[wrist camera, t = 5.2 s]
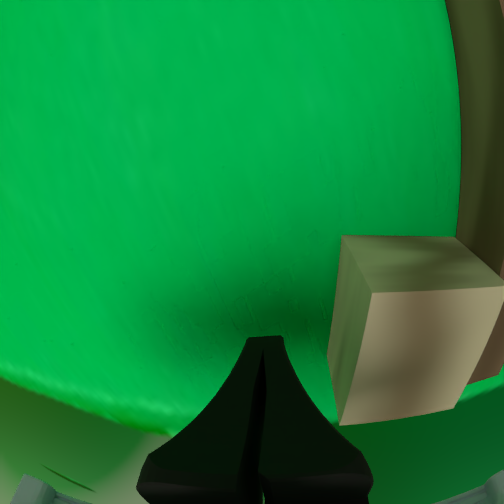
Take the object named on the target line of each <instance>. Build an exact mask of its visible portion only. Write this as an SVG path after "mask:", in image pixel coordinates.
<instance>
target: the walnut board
mask: <svg viewBox="0 0 504 504" xmlns="http://www.w3.org/2000/svg"><path fill="white" fill-rule="evenodd" d="M445 2H446V6H447V11H448V15H449V20H450V25H451V31H452V37H453V43H454V49H455V56H456V64H457V72H458V82H459V93H460V108H461V137H462V156H461V186H460V201H459V213H458V223H457V232H456V239H457V240H459V241H460V242H461V243H462V244H463V245H465V246H466V247H467V248H468V249H469V250H470V251H472V252H473V253H474V254H475V255H476V256H477V257H478V258H480V259H481V260H482V261H483V262H484V263H485V264H486V265H487V266H489V267H490V268H491V269H492V270H493V271H494V272H495V273H496V274H497V275H498V276H499V277H501V278H502V279H503V280H504V0H445ZM503 364H504V302H503V304H502V307H501V310H500V312H499V315H498V318H497V320H496V323H495V325H494V327H493V330H492V332H491V335H490V337H489V339H488V341H487V344H486V346H485V348H484V350H483V352H482V355H481V357H480V359H479V361H478V363H477V365H476V367H475V369H474V371H473V373H472V375H471V377H470V379H469V381H468V383H467V384H466V385H468V384H471V383H474V382H478V381H481V380H484V379H487V378H490V377H493V376H496V375H498V374H499V372H500V370H501V368H502V366H503Z"/></svg>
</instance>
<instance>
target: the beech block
mask: <svg viewBox="0 0 504 504" xmlns="http://www.w3.org/2000/svg"><path fill="white" fill-rule="evenodd" d="M503 302H504V280H503V279H502V278H501V277H499V276H498V275H497V274H496V273H495V272H494V271H493V270H492V269H491V268H490V267H489V266H487V265H486V264H485V263H484V262H483V261H482V260H481V259H480V258H478V257H477V256H476V255H475V254H474V253H473V252H472V251H470V250H469V249H468V248H467V247H466V246H465V245H463V244H462V243H461V242H460V241H459V240H457V239H456V238H455V237H432V236H374V235H342V238H341V249H340V259H339V268H338V277H337V286H336V294H335V302H334V310H333V317H332V324H331V331H330V338H329V344H328V350H327V359H328V364H329V369H330V375H331V380H332V385H333V391H334V396H335V402H336V408H337V413H338V419H339V425H351V424H361V423H370V422H378V421H386V420H392V419H399V418H406V417H411V416H417V415H422V414H428V413H433V412H438V411H443V410H447V409H451V408H453V407H454V406H455V404H456V402H457V401H458V399H459V397H460V395H461V394H462V392H463V390H464V388H465V386H466V384H467V383H468V381H469V379H470V377H471V375H472V373H473V371H474V369H475V367H476V365H477V363H478V361H479V359H480V357H481V355H482V352H483V350H484V348H485V346H486V344H487V341H488V339H489V337H490V335H491V332H492V330H493V327H494V325H495V323H496V320H497V318H498V315H499V312H500V310H501V307H502V304H503Z"/></svg>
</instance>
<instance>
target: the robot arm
mask: <svg viewBox="0 0 504 504" xmlns="http://www.w3.org/2000/svg"><path fill="white" fill-rule="evenodd" d="M372 486H373V476H372V473H371V470H370V468H369V466H368V463H367V461H366V460H365V458H364V456H363V454H362V453H361V451H359V450H358V449H357V448H356V447H355V446H353V445H352V444H351V443H350V442H349V441H348V440H347V439H345V438H344V437H343V436H342V435H341V434H340V433H339V432H338V431H337V430H336V429H335V428H334V427H333V426H332V424H331V423H330V422H329V421H328V420H327V419H326V418H325V417H324V416H323V414H322V413H321V412H320V411H319V409H318V408H317V407H316V405H315V404H314V403H313V401H312V400H311V398H310V397H309V395H308V394H307V392H306V391H305V389H304V388H303V386H302V384H301V382H300V381H299V379H298V377H297V375H296V373H295V371H294V369H293V367H292V365H291V363H290V360H289V358H288V355H287V352H286V349H285V346H284V340H283V337H282V336H280V335H279V336H263V337H249V338H248V339H247V340H246V343H245V345H244V348H243V350H242V352H241V354H240V356H239V358H238V360H237V362H236V364H235V366H234V367H233V369H232V371H231V373H230V374H229V376H228V378H227V379H226V380H225V382H224V383H223V385H222V386H221V388H220V389H219V391H218V392H217V393H216V395H215V396H214V397H213V399H212V400H211V401H210V402H209V404H208V405H207V406H206V407H205V408H204V409H203V410H202V411H201V412H200V414H199V415H198V416H197V417H196V418H195V419H194V420H193V421H192V422H191V423H190V424H188V425H187V426H186V427H185V428H184V429H183V430H181V431H180V432H179V433H178V434H177V435H176V436H174V437H173V438H172V439H171V440H169V441H168V442H166V443H165V444H164V445H162V446H161V447H159V448H158V449H156V450H155V451H153V452H152V453H150V454H149V455H148V456H147V458H146V461H145V463H144V465H143V467H142V469H141V472H140V476H139V479H138V482H137V486H136V489H137V491H138V492H139V494H140V495H141V496H142V497H143V498H144V499H145V500H146V501H147V502H148V503H149V504H263V493H264V497H265V504H369V502H368V494H369V492H370V490H371V488H372ZM10 504H91V503H87V502H85V501H81V500H78V499H75V498H73V497H70V496H67V495H64V494H62V493H59V492H56V490H55V489H54V488H53V487H51V486H50V485H49V484H47V483H46V482H44V481H42V480H40V479H37V478H35V477H33V476H31V475H28V474H24V475H23V477H22V479H21V481H20V483H19V485H18V487H17V490H16V492H15V494H14V496H13V498H12V501H11V503H10ZM433 504H504V470H502V471H500V472H498V473H496V474H495V475H493V476H492V477H490V478H489V479H488V480H487V482H486V483H485V484H484V485H482V486H480V487H477V488H475V489H472V490H470V491H468V492H465V493H462V494H460V495H457V496H454V497H451V498H449V499H446V500H443V501H440V502H437V503H433Z"/></svg>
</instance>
